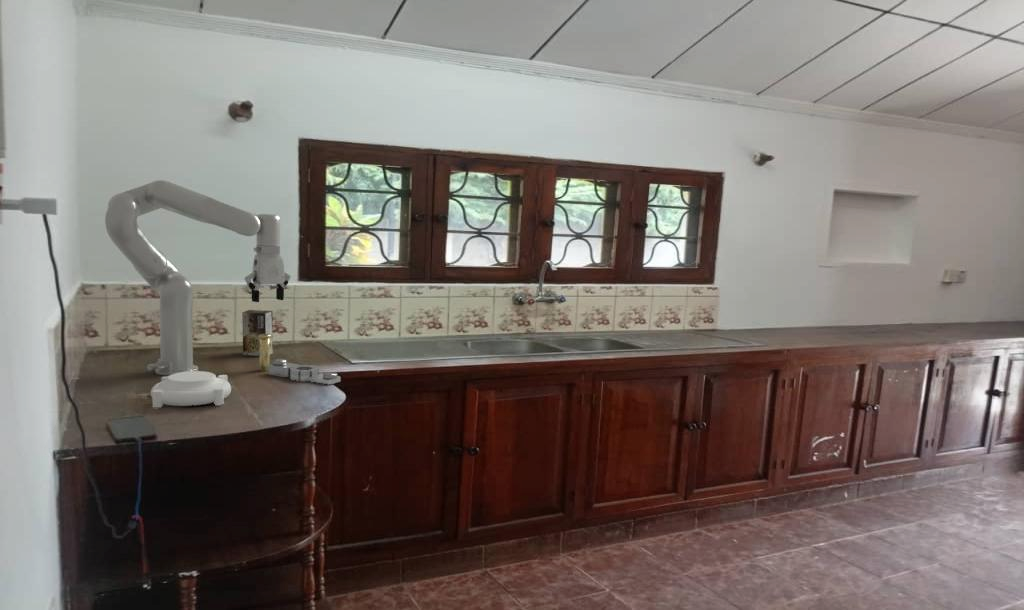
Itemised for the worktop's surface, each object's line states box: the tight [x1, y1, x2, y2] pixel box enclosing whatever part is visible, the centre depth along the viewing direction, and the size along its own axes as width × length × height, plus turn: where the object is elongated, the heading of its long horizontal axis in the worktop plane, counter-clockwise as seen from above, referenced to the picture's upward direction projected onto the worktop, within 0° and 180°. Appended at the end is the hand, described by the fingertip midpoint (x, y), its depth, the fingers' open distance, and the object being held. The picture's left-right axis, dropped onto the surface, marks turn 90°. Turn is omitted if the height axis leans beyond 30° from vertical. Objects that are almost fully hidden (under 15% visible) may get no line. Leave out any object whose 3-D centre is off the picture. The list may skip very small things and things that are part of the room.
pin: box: [258, 334, 271, 372], centre depth 237 cm, size 4×4×12 cm
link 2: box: [289, 371, 341, 385], centre depth 227 cm, size 9×17×3 cm, turn 65°
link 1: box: [268, 358, 320, 378], centre depth 231 cm, size 9×17×4 cm, turn 65°
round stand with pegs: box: [150, 370, 232, 408], centre depth 199 cm, size 24×24×7 cm
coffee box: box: [241, 309, 274, 357], centre depth 260 cm, size 9×6×16 cm
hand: (267, 300), depth 242 cm, fingers open, 9 cm apart
